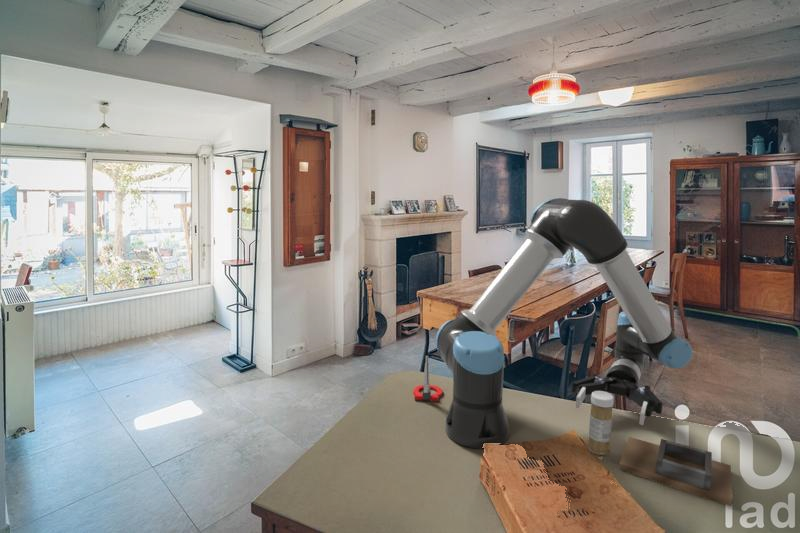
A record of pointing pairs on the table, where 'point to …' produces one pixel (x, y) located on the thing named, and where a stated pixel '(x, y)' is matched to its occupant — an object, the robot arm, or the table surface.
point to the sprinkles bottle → (600, 422)
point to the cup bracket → (679, 468)
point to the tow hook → (427, 388)
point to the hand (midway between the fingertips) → (608, 410)
